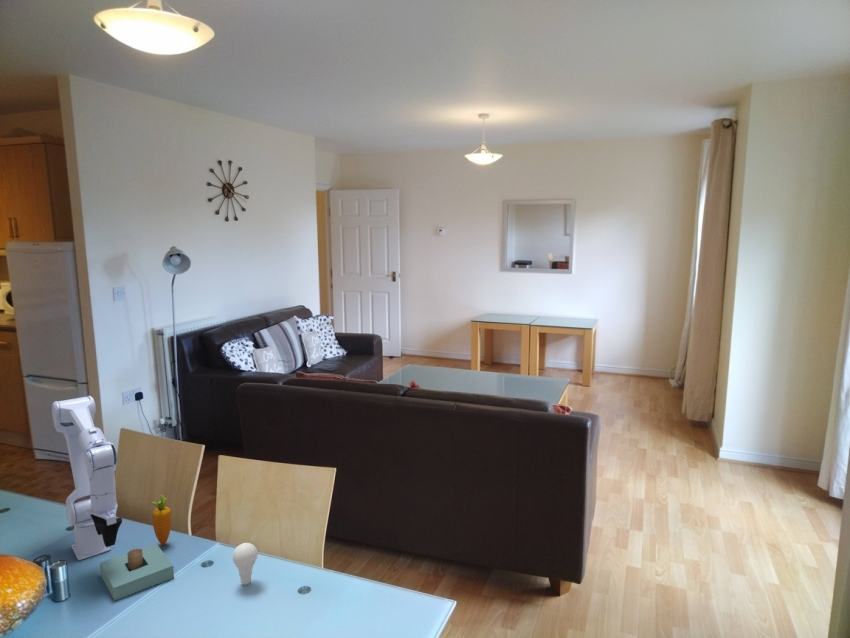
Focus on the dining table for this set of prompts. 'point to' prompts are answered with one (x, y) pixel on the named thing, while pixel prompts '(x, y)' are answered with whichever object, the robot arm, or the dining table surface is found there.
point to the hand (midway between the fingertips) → (106, 539)
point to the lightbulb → (245, 561)
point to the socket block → (136, 572)
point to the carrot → (162, 521)
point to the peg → (135, 559)
